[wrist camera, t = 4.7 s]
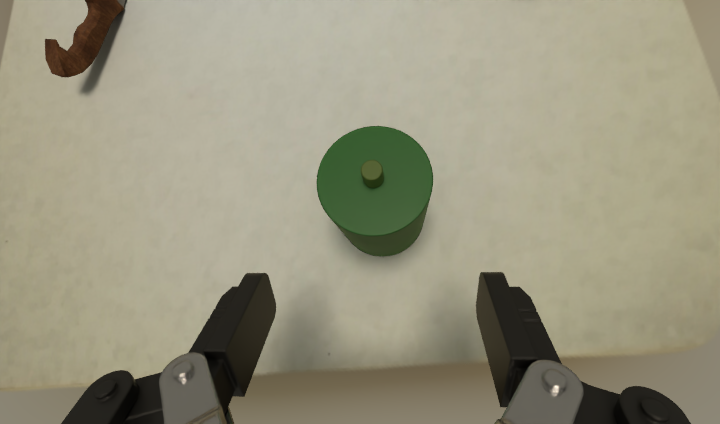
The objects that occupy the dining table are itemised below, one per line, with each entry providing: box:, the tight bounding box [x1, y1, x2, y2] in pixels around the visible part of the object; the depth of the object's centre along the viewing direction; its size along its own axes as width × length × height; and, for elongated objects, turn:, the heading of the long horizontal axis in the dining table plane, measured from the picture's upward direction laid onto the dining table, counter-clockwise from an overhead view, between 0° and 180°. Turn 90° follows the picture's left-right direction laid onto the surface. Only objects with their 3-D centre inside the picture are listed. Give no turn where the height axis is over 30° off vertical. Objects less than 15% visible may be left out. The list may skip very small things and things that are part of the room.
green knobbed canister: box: [317, 126, 433, 256], centre depth 20 cm, size 6×6×9 cm
